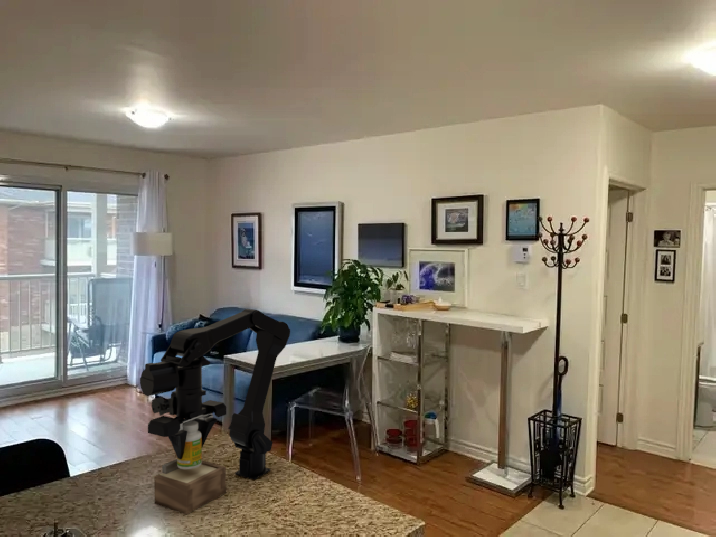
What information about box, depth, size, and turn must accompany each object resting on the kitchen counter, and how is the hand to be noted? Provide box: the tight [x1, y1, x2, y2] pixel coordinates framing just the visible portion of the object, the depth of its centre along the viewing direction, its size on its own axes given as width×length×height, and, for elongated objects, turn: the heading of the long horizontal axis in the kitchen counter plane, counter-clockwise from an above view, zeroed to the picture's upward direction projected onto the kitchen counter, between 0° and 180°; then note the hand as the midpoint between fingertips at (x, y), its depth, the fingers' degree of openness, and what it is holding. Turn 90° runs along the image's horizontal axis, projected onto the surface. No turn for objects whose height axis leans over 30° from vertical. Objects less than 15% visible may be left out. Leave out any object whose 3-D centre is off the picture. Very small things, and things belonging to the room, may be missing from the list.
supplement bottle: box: [176, 421, 203, 469], centre depth 126 cm, size 5×5×10 cm
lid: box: [158, 458, 217, 483], centre depth 126 cm, size 9×9×2 cm
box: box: [153, 460, 227, 515], centre depth 126 cm, size 12×10×6 cm
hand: (189, 454), depth 126 cm, fingers closed on supplement bottle, 5 cm apart
